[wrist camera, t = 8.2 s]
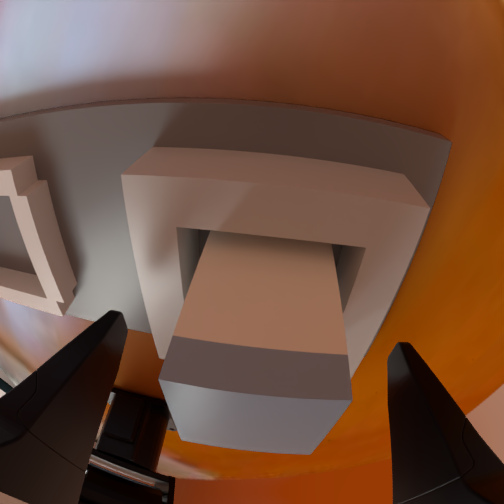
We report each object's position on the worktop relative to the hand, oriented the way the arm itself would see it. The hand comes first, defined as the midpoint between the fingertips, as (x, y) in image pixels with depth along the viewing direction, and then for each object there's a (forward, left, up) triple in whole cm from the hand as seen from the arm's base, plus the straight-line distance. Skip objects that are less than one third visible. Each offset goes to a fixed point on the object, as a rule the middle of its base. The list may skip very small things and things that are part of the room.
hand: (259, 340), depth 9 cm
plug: (0, 0, -4) cm, 4 cm away
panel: (0, +7, -5) cm, 9 cm away
